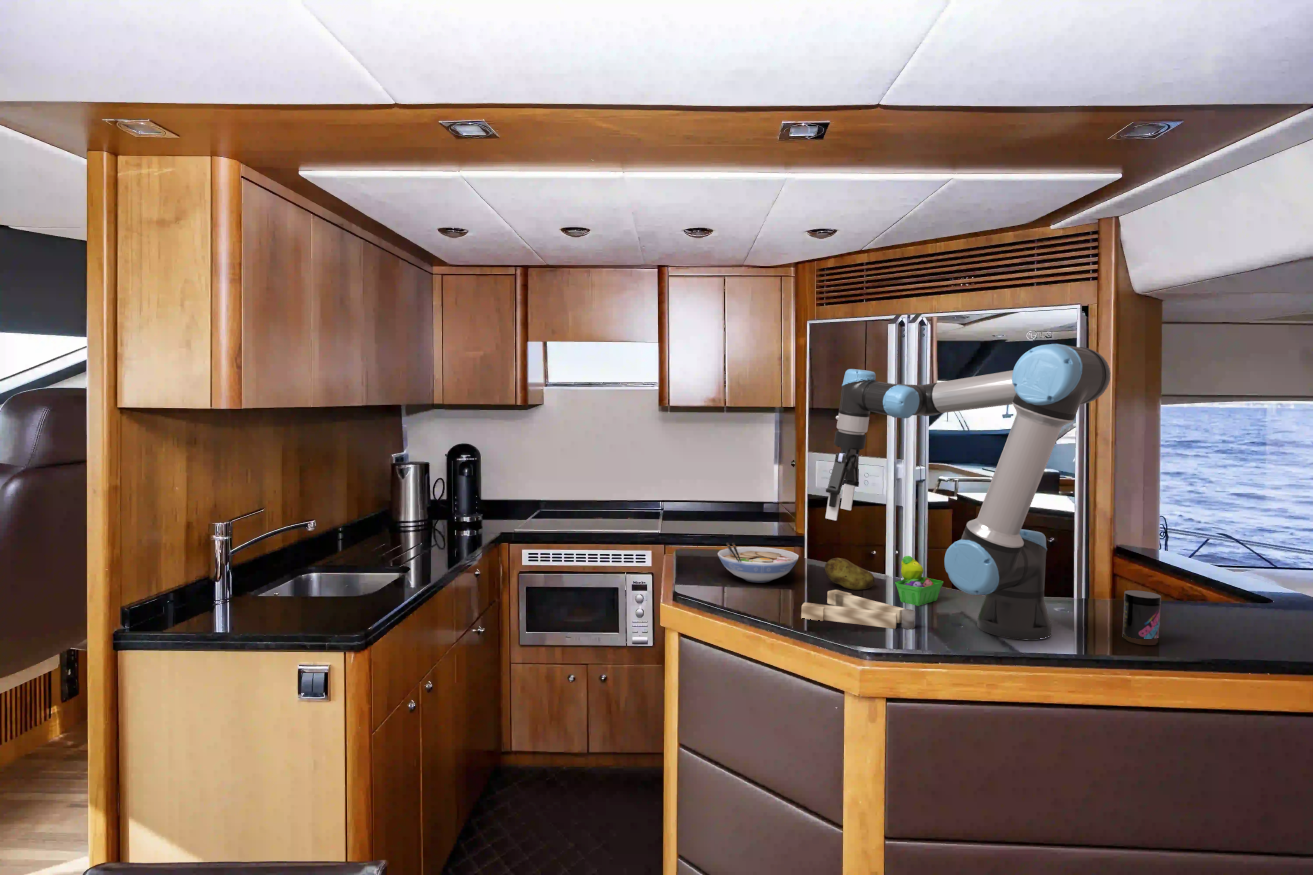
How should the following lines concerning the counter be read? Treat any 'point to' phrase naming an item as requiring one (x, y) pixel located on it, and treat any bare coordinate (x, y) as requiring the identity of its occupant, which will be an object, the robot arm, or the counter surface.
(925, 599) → the fruit basket
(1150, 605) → the supplement container
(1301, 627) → the counter surface
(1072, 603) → the counter surface
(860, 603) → the bar
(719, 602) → the counter surface
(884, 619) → the tongs fixed
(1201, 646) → the counter surface
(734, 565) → the ramen bowl
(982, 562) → the robot arm
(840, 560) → the potato
